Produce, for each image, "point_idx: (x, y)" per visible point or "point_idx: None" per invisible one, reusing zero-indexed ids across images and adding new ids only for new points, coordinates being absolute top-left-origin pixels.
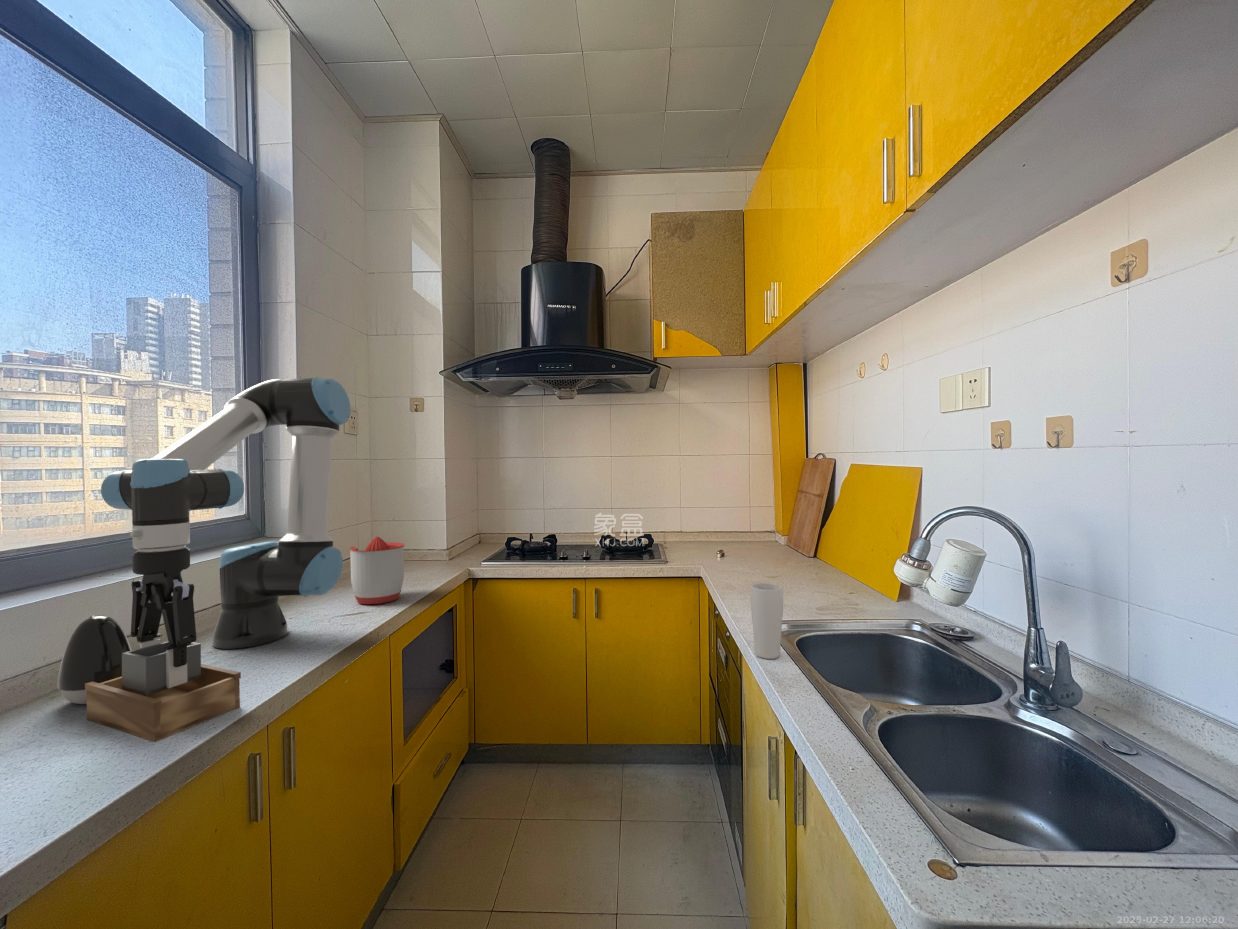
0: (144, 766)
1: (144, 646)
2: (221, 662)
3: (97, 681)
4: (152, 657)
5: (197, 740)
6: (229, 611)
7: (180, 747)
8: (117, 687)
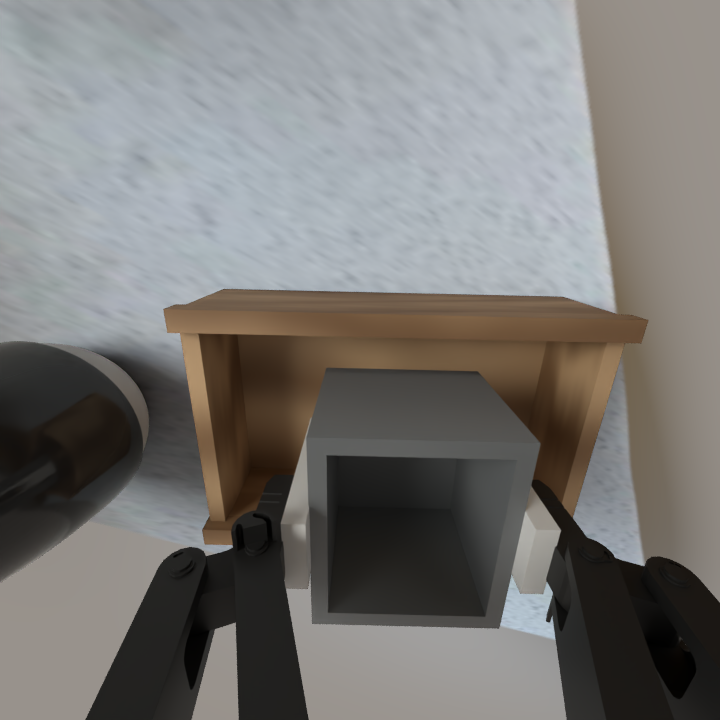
0: (596, 524)
1: (309, 564)
2: (53, 15)
3: (130, 471)
4: (502, 608)
5: (611, 442)
6: None
7: (601, 469)
8: (229, 461)
